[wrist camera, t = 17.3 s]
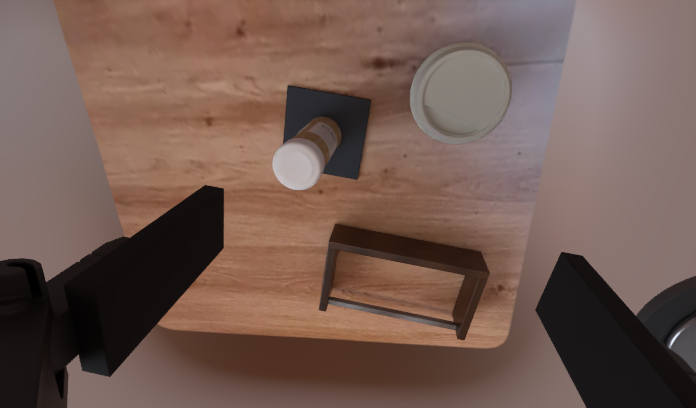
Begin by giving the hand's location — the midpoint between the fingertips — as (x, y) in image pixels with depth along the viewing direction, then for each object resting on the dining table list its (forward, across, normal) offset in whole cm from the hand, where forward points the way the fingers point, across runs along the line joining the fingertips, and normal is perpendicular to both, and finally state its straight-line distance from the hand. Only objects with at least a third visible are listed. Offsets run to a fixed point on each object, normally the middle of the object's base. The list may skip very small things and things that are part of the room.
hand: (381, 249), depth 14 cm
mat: (+31, -8, -4) cm, 33 cm away
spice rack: (+31, +5, -22) cm, 39 cm away
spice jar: (+31, -8, -4) cm, 32 cm away
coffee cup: (+32, +5, +4) cm, 32 cm away
